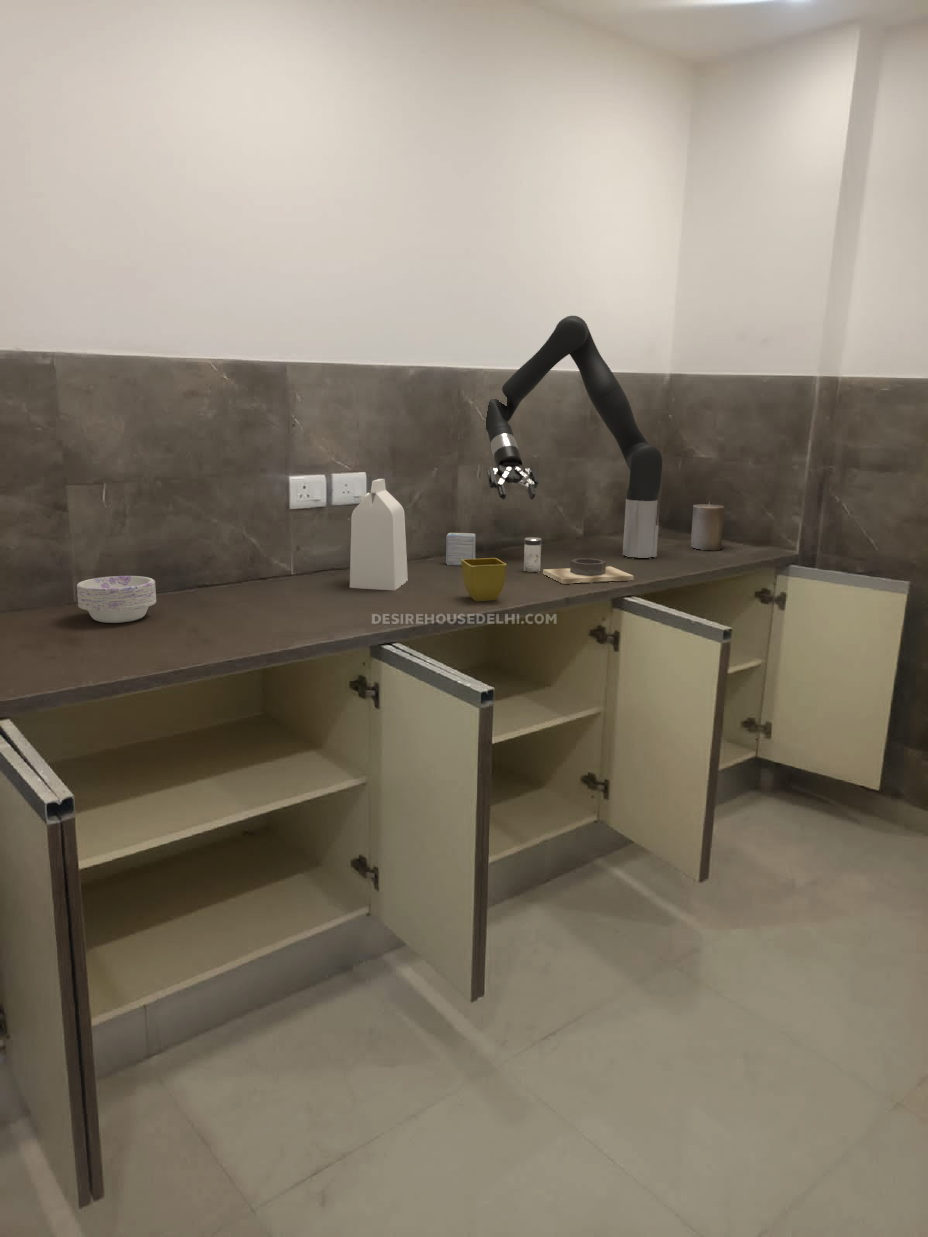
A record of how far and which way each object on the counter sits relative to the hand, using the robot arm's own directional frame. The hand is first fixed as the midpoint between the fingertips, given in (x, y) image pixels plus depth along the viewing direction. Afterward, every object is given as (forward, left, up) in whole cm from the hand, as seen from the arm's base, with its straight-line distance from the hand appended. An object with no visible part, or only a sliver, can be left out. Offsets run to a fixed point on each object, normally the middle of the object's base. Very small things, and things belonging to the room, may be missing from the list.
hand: (518, 497), depth 247 cm
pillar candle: (-69, -11, -19) cm, 73 cm away
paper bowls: (+104, +40, -19) cm, 113 cm away
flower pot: (+24, +41, -19) cm, 51 cm away
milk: (+44, +19, -19) cm, 51 cm away
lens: (0, +12, -19) cm, 22 cm away
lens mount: (-11, +24, -19) cm, 32 cm away
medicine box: (+16, -2, -19) cm, 25 cm away
